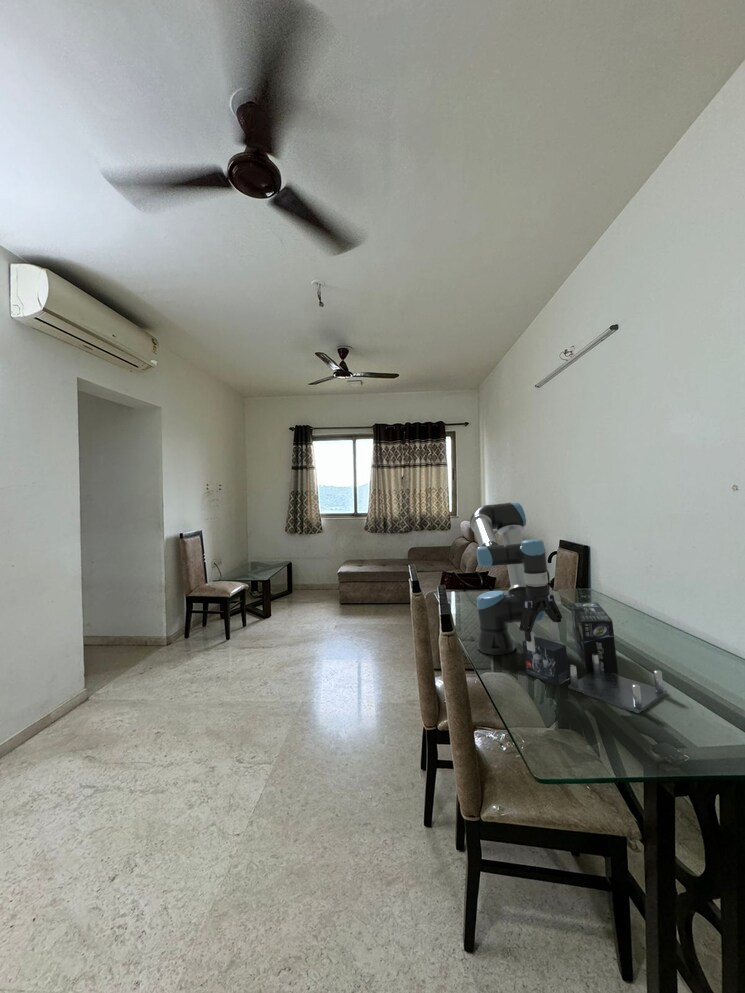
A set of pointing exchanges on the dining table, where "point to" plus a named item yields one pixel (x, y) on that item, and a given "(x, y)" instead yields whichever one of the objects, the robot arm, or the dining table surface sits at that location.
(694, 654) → the dining table surface
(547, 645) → the small box
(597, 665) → the chassis
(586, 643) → the box
